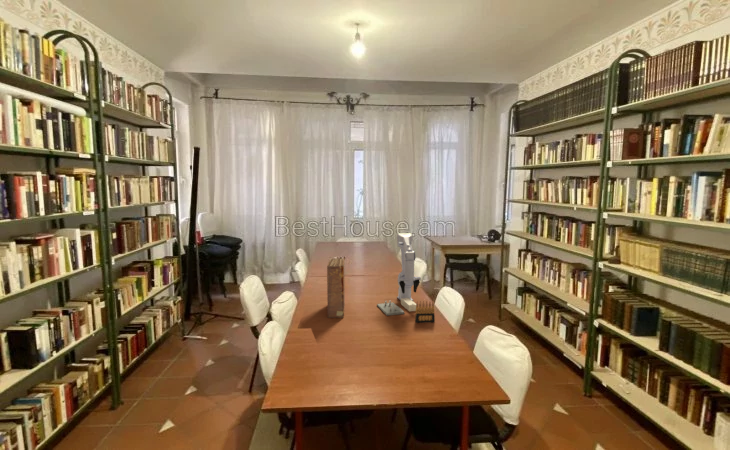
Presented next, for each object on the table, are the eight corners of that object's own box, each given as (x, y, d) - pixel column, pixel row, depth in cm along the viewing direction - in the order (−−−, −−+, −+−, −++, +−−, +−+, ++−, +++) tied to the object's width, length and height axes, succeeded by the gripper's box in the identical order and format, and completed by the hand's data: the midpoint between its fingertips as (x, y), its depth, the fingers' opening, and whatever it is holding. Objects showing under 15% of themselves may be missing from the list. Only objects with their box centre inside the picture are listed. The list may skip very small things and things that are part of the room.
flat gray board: (377, 305, 237) (377, 299, 237) (393, 304, 240) (393, 297, 240) (386, 315, 220) (386, 308, 220) (404, 313, 223) (404, 306, 223)
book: (330, 303, 241) (329, 257, 238) (344, 303, 242) (344, 257, 238) (327, 318, 216) (327, 266, 213) (343, 317, 216) (343, 266, 213)
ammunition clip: (415, 322, 209) (415, 301, 208) (414, 321, 211) (415, 300, 210) (434, 322, 210) (435, 301, 209) (433, 321, 212) (434, 300, 210)
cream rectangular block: (400, 304, 241) (400, 298, 240) (408, 303, 242) (408, 297, 242) (409, 311, 227) (409, 305, 227) (417, 311, 229) (417, 304, 228)
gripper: (400, 273, 226) (400, 295, 228) (423, 271, 230) (422, 293, 232) (396, 270, 233) (396, 292, 234) (418, 269, 237) (417, 290, 238)
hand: (409, 292), depth 234 cm, fingers open, 7 cm apart
